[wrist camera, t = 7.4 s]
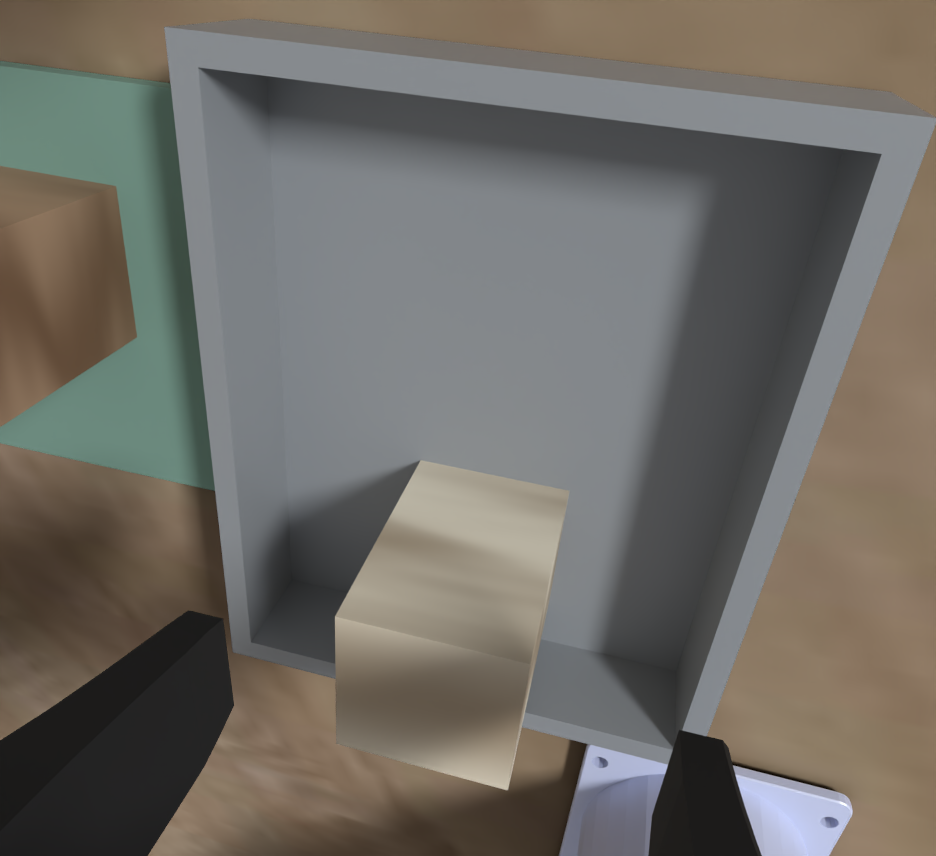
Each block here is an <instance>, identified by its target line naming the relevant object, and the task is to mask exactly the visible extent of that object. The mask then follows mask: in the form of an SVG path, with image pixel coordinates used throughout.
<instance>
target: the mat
mask: <svg viewBox="0 0 936 856" xmlns="http://www.w3.org/2000/svg"><path fill="white" fill-rule="evenodd" d="M0 166H4V167H10V168H15V169H21V170H27V171H33V172H38V173H44V174H50V175H56V176H61V177H67V178H73V179H79V180H84V181H90V182H96V183H102V184H107V185H113V186H116V189H117V196H118V203H119V210H120V217H121V225H122V232H123V239H124V246H125V253H126V260H127V268H128V275H129V282H130V289H131V296H132V304H133V311H134V318H135V325H136V332H137V338H135V339H134V340H132V341H131V342H129V343H128V344H126V345H125V346H123V347H121V348H120V349H118V350H117V351H115V352H114V353H112V354H111V355H109V356H108V357H106V358H105V359H103V360H102V361H100V362H99V363H97V364H96V365H94V366H93V367H91V368H89V369H88V370H86V371H85V372H83V373H82V374H80V375H79V376H77V377H76V378H74V379H73V380H71V381H70V382H68V383H67V384H65V385H64V386H62V387H61V388H59V389H58V390H56V391H54V392H53V393H51V394H50V395H48V396H47V397H45V398H44V399H42V400H41V401H39V402H38V403H36V404H35V405H33V406H32V407H30V408H29V409H27V410H26V411H24V412H23V413H21V414H19V415H18V416H16V417H15V418H13V419H12V420H10V421H9V422H7V423H6V424H4V425H3V426H1V427H0V443H2V444H6V445H11V446H15V447H20V448H24V449H29V450H33V451H38V452H42V453H47V454H51V455H56V456H60V457H65V458H69V459H74V460H78V461H83V462H87V463H92V464H96V465H101V466H105V467H110V468H114V469H119V470H123V471H128V472H132V473H137V474H141V475H146V476H150V477H155V478H159V479H164V480H168V481H173V482H177V483H181V484H186V485H190V486H195V487H199V488H204V489H208V490H213V491H215V485H214V476H213V467H212V458H211V448H210V439H209V430H208V421H207V412H206V403H205V394H204V385H203V375H202V366H201V357H200V348H199V339H198V330H197V321H196V311H195V302H194V293H193V284H192V275H191V266H190V257H189V248H188V238H187V229H186V220H185V211H184V202H183V193H182V184H181V174H180V165H179V156H178V147H177V138H176V129H175V120H174V111H173V101H172V92H171V83H165V82H157V81H150V80H142V79H134V78H127V77H119V76H111V75H104V74H96V73H89V72H81V71H73V70H66V69H58V68H50V67H43V66H35V65H28V64H20V63H12V62H5V61H0Z"/></svg>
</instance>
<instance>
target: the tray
mask: <svg viewBox="0 0 936 856" xmlns="http://www.w3.org/2000/svg"><path fill="white" fill-rule="evenodd" d="M164 28H165V37H166V47H167V56H168V65H169V74H170V83H171V92H172V101H173V111H174V120H175V129H176V138H177V147H178V156H179V165H180V174H181V184H182V193H183V202H184V211H185V220H186V229H187V238H188V248H189V257H190V266H191V275H192V284H193V293H194V302H195V311H196V321H197V330H198V339H199V348H200V357H201V366H202V375H203V385H204V394H205V403H206V412H207V421H208V430H209V439H210V448H211V458H212V467H213V476H214V485H215V494H216V503H217V512H218V522H219V531H220V540H221V549H222V558H223V567H224V576H225V586H226V595H227V604H228V613H229V622H230V631H231V640H232V649H233V652H234V653H238V654H242V655H245V656H249V657H253V658H257V659H261V660H265V661H269V662H273V663H276V664H280V665H284V666H288V667H292V668H296V669H300V670H303V671H307V672H311V673H315V674H319V675H323V676H327V677H331V678H334V679H336V667H335V616H336V614H337V612H338V610H339V608H340V606H341V605H342V603H343V601H344V599H345V597H346V596H347V594H348V592H349V590H350V588H351V586H352V585H353V583H354V581H355V579H356V577H357V575H358V574H359V572H360V570H361V568H362V566H363V565H364V563H365V561H366V559H367V557H368V555H369V554H370V552H371V550H372V548H373V546H374V544H375V543H376V541H377V539H378V537H379V535H380V534H381V532H382V530H383V528H384V526H385V524H386V523H387V521H388V519H389V517H390V515H391V514H392V512H393V510H394V508H395V506H396V504H397V503H398V501H399V499H400V497H401V495H402V493H403V492H404V490H405V488H406V486H407V484H408V483H409V481H410V479H411V477H412V475H413V473H414V472H415V470H416V468H417V466H418V464H419V462H420V461H421V460H422V461H427V462H432V463H437V464H442V465H447V466H451V467H456V468H461V469H466V470H471V471H476V472H481V473H485V474H490V475H495V476H500V477H505V478H510V479H515V480H519V481H524V482H529V483H534V484H539V485H544V486H549V487H553V488H558V489H563V490H568V491H569V496H568V501H567V507H566V512H565V518H564V523H563V529H562V534H561V539H560V545H559V550H558V556H557V561H556V567H555V572H554V577H553V583H552V588H551V594H550V599H549V605H548V609H547V614H546V618H545V623H544V627H543V632H542V636H541V641H540V646H539V650H538V655H537V659H536V664H535V668H534V673H533V677H532V682H531V687H530V691H529V696H528V700H527V705H526V709H525V714H524V719H523V723H522V727H524V728H528V729H532V730H536V731H539V732H543V733H547V734H551V735H555V736H559V737H563V738H567V739H570V740H574V741H578V742H582V743H586V744H590V745H594V746H597V747H601V748H605V749H609V750H613V751H617V752H621V753H625V754H628V755H632V756H636V757H640V758H644V759H648V760H652V761H656V762H659V763H663V764H667V765H668V763H669V760H670V757H671V754H672V751H673V747H674V744H675V741H676V738H677V735H678V732H679V730H683V731H687V732H691V733H695V734H699V735H703V736H707V734H708V731H709V728H710V726H711V723H712V720H713V718H714V715H715V712H716V710H717V707H718V704H719V702H720V699H721V696H722V694H723V691H724V688H725V686H726V683H727V680H728V678H729V675H730V672H731V670H732V667H733V664H734V662H735V659H736V656H737V654H738V651H739V648H740V646H741V643H742V640H743V638H744V635H745V632H746V629H747V627H748V624H749V621H750V619H751V616H752V613H753V611H754V608H755V605H756V603H757V600H758V597H759V595H760V592H761V589H762V587H763V584H764V581H765V579H766V576H767V573H768V571H769V568H770V565H771V563H772V560H773V557H774V555H775V552H776V549H777V547H778V544H779V541H780V539H781V536H782V533H783V531H784V528H785V525H786V523H787V520H788V517H789V515H790V512H791V509H792V506H793V504H794V501H795V498H796V496H797V493H798V490H799V488H800V485H801V482H802V480H803V477H804V474H805V472H806V469H807V466H808V464H809V461H810V458H811V456H812V453H813V450H814V448H815V445H816V442H817V440H818V437H819V434H820V432H821V429H822V426H823V424H824V421H825V418H826V416H827V413H828V410H829V408H830V405H831V402H832V400H833V397H834V394H835V392H836V389H837V386H838V384H839V381H840V378H841V375H842V373H843V370H844V367H845V365H846V362H847V359H848V357H849V354H850V351H851V349H852V346H853V343H854V341H855V338H856V335H857V333H858V330H859V327H860V325H861V322H862V319H863V317H864V314H865V311H866V309H867V306H868V303H869V301H870V298H871V295H872V293H873V290H874V287H875V285H876V282H877V279H878V277H879V274H880V271H881V269H882V266H883V263H884V261H885V258H886V255H887V252H888V250H889V247H890V244H891V242H892V239H893V236H894V234H895V231H896V228H897V226H898V223H899V220H900V218H901V215H902V212H903V210H904V207H905V204H906V202H907V199H908V196H909V194H910V191H911V188H912V186H913V183H914V180H915V178H916V175H917V172H918V170H919V167H920V164H921V162H922V159H923V156H924V154H925V151H926V148H927V146H928V143H929V140H930V138H931V135H932V132H933V130H934V127H935V124H936V117H934V116H933V115H931V114H929V113H927V112H925V111H924V110H922V109H920V108H918V107H917V106H915V105H913V104H911V103H910V102H908V101H906V100H904V99H902V98H901V97H899V96H897V95H895V94H894V93H892V92H886V91H877V90H869V89H860V88H851V87H842V86H834V85H825V84H816V83H807V82H799V81H790V80H781V79H772V78H764V77H755V76H746V75H737V74H729V73H720V72H711V71H702V70H694V69H685V68H676V67H667V66H658V65H650V64H641V63H632V62H623V61H615V60H606V59H597V58H588V57H580V56H571V55H562V54H553V53H545V52H536V51H527V50H518V49H510V48H501V47H492V46H483V45H475V44H466V43H457V42H448V41H439V40H431V39H422V38H413V37H404V36H396V35H387V34H378V33H369V32H361V31H352V30H343V29H334V28H326V27H317V26H308V25H299V24H291V23H282V22H273V21H264V20H256V19H241V20H231V21H221V22H210V23H200V24H189V25H179V26H169V27H164Z"/></svg>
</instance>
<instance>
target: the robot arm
mask: <svg viewBox="0 0 936 856" xmlns="http://www.w3.org/2000/svg"><path fill="white" fill-rule="evenodd" d="M233 706H234V701H233V693H232V686H231V678H230V670H229V662H228V654H227V647H226V639H225V631H224V623H223V619H222V618H218V617H213V616H209V615H205V614H201V613H197V612H193V611H187V612H186V613H184V614H183V615H181V616H180V617H178V618H177V619H176V620H174V621H173V622H171V623H170V624H168V625H167V626H166V627H164V628H163V629H162V630H160V631H159V632H157V633H156V634H155V635H153V636H152V637H150V638H149V639H148V640H146V641H145V642H144V643H142V644H141V645H139V646H138V647H137V648H135V649H134V650H133V651H131V652H130V653H128V654H127V655H126V656H124V657H123V658H122V659H120V660H119V661H117V662H116V663H115V664H113V665H112V666H110V667H109V668H108V669H106V670H105V671H103V672H102V673H101V674H99V675H98V676H96V677H95V678H93V679H92V680H91V681H89V682H88V683H86V684H85V685H83V686H82V687H80V688H79V689H78V690H76V691H75V692H73V693H72V694H70V695H69V696H68V697H66V698H65V699H63V700H62V701H60V702H59V703H57V704H56V705H54V706H53V707H51V708H50V709H48V710H47V711H45V712H44V713H42V714H41V715H39V716H38V717H36V718H35V719H33V720H31V721H30V722H28V723H27V724H25V725H24V726H22V727H21V728H19V729H17V730H16V731H14V732H13V733H11V734H10V735H8V736H7V737H5V738H3V739H2V740H0V856H148V854H149V853H150V851H151V849H152V848H153V846H154V845H155V843H156V842H157V840H158V839H159V837H160V835H161V834H162V832H163V831H164V829H165V828H166V826H167V825H168V823H169V821H170V820H171V818H172V817H173V815H174V814H175V812H176V811H177V809H178V807H179V806H180V804H181V803H182V801H183V799H184V798H185V796H186V795H187V793H188V792H189V790H190V788H191V787H192V785H193V784H194V782H195V781H196V779H197V777H198V776H199V774H200V772H201V771H202V769H203V768H204V766H205V764H206V762H207V760H208V758H209V756H210V754H211V752H212V750H213V748H214V746H215V744H216V742H217V740H218V738H219V736H220V734H221V732H222V730H223V728H224V725H225V723H226V721H227V719H228V717H229V715H230V713H231V711H232V708H233ZM852 812H853V811H852V806H851V802H850V800H849V798H848V797H847V796H845V795H844V794H842V793H839V792H836V791H832V790H828V789H824V788H820V787H816V786H812V785H809V784H805V783H801V782H797V781H793V780H789V779H785V778H781V777H777V776H773V775H769V774H765V773H762V772H758V771H754V770H750V769H746V768H742V767H738V766H734V765H733V764H732V761H731V757H730V753H729V748H728V747H727V745H726V744H725V743H724V741H723V740H720V739H715V738H711V737H707V736H703V735H699V734H695V733H691V732H687V731H683V730H679V732H678V735H677V738H676V741H675V744H674V747H673V751H672V754H671V757H670V760H669V763H668V765H667V764H663V763H659V762H656V761H652V760H648V759H644V758H640V757H636V756H632V755H628V754H625V753H621V752H617V751H613V750H609V749H605V748H601V747H597V746H594V745H590V744H587V745H586V749H585V753H584V757H583V761H582V765H581V769H580V773H579V777H578V781H577V785H576V789H575V793H574V797H573V801H572V805H571V809H570V813H569V817H568V821H567V825H566V829H565V833H564V837H563V841H562V845H561V849H560V853H559V856H829V855H830V853H831V851H832V849H833V848H834V846H835V844H836V842H837V841H838V839H839V837H840V835H841V834H842V832H843V830H844V828H845V827H846V825H847V823H848V821H849V820H850V818H851V816H852Z"/></svg>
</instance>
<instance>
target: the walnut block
mask: <svg viewBox="0 0 936 856" xmlns="http://www.w3.org/2000/svg"><path fill="white" fill-rule="evenodd" d="M135 338H137V332H136V325H135V318H134V311H133V304H132V296H131V289H130V282H129V275H128V268H127V260H126V253H125V246H124V239H123V232H122V225H121V217H120V210H119V203H118V196H117V189H116V186H113V185H107V184H102V183H96V182H90V181H84V180H79V179H73V178H67V177H61V176H56V175H50V174H44V173H38V172H33V171H27V170H21V169H15V168H10V167H4V166H0V427H1V426H3V425H4V424H6V423H7V422H9V421H10V420H12V419H13V418H15V417H16V416H18V415H19V414H21V413H23V412H24V411H26V410H27V409H29V408H30V407H32V406H33V405H35V404H36V403H38V402H39V401H41V400H42V399H44V398H45V397H47V396H48V395H50V394H51V393H53V392H54V391H56V390H58V389H59V388H61V387H62V386H64V385H65V384H67V383H68V382H70V381H71V380H73V379H74V378H76V377H77V376H79V375H80V374H82V373H83V372H85V371H86V370H88V369H89V368H91V367H93V366H94V365H96V364H97V363H99V362H100V361H102V360H103V359H105V358H106V357H108V356H109V355H111V354H112V353H114V352H115V351H117V350H118V349H120V348H121V347H123V346H125V345H126V344H128V343H129V342H131V341H132V340H134V339H135Z"/></svg>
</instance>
